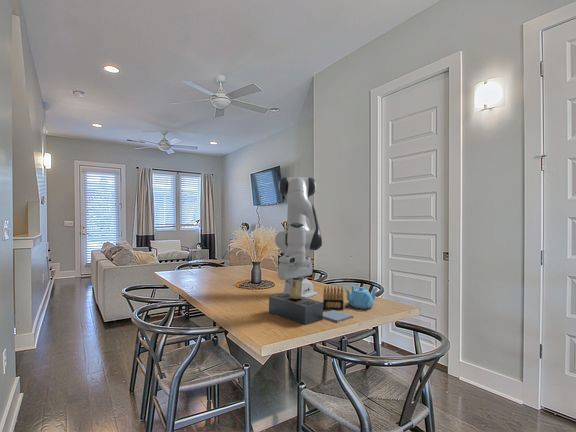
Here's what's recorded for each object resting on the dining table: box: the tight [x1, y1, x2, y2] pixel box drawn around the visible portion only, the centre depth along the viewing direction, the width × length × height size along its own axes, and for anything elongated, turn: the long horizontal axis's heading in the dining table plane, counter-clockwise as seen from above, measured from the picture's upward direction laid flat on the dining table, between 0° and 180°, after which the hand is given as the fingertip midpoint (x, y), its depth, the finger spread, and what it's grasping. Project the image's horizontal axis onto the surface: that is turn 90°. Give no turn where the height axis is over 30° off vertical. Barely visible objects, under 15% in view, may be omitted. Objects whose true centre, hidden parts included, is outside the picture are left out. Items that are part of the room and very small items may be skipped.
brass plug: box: [289, 280, 302, 299], centre depth 153 cm, size 4×4×8 cm
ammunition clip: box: [322, 285, 345, 311], centre depth 167 cm, size 11×2×12 cm, turn 91°
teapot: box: [344, 284, 378, 310], centre depth 174 cm, size 15×15×10 cm
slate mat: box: [323, 310, 354, 323], centre depth 153 cm, size 12×12×1 cm
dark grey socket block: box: [268, 293, 324, 326], centre depth 153 cm, size 12×24×8 cm, turn 44°
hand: (295, 286), depth 153 cm, fingers closed on brass plug, 4 cm apart
